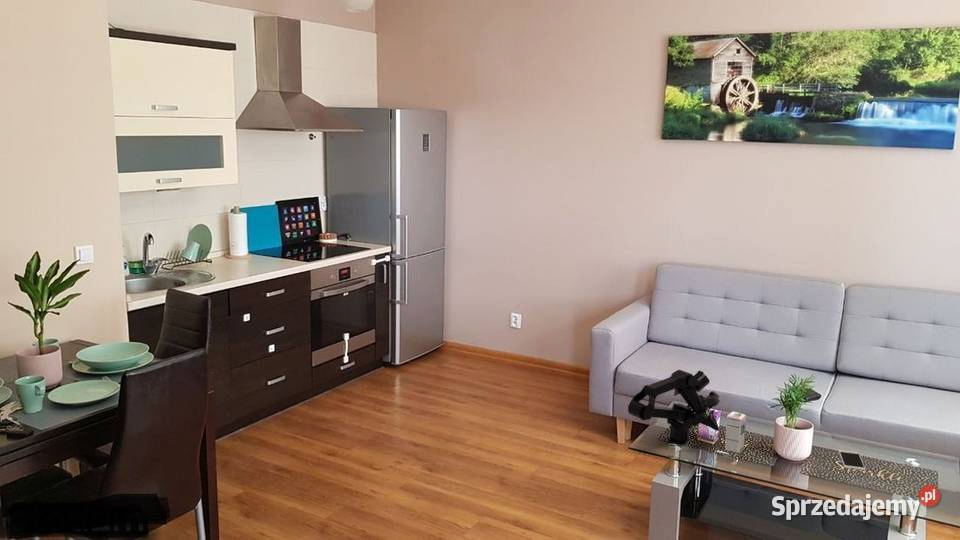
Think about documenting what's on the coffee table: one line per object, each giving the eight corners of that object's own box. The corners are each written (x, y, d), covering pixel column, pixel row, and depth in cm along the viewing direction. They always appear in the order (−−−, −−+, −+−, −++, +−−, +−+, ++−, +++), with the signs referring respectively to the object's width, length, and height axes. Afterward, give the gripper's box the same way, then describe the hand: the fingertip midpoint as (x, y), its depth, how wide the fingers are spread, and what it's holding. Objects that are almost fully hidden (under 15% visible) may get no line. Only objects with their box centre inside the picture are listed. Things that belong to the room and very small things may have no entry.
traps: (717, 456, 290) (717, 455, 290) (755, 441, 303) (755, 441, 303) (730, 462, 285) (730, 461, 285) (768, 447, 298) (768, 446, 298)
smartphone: (858, 453, 293) (858, 451, 293) (865, 471, 279) (866, 469, 279) (838, 451, 295) (838, 449, 295) (844, 469, 281) (844, 466, 281)
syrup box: (739, 454, 292) (742, 419, 289) (724, 450, 295) (726, 415, 292) (744, 449, 296) (747, 414, 293) (729, 445, 300) (731, 410, 297)
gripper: (701, 394, 289) (728, 427, 286) (713, 380, 305) (739, 411, 302) (679, 409, 295) (706, 442, 292) (692, 394, 311) (718, 426, 308)
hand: (718, 430), depth 298 cm, fingers closed
